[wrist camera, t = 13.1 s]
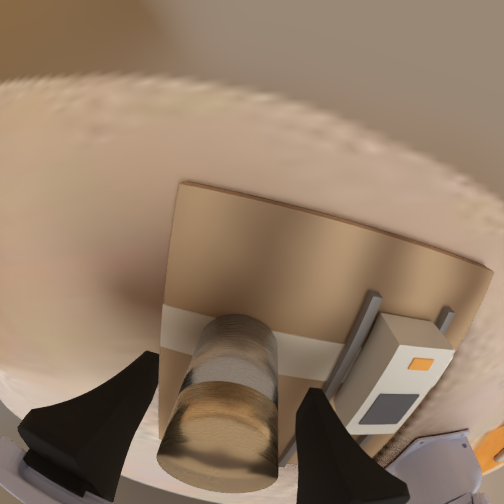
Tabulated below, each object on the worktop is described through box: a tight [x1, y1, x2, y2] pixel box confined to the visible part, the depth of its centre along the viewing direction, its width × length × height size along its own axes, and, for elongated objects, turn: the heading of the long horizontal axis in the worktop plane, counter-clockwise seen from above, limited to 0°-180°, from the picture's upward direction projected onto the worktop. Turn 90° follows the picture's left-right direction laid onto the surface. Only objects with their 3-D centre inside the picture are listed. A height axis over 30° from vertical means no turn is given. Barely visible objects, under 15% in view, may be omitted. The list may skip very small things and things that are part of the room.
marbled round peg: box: [157, 314, 279, 493], centre depth 11 cm, size 4×4×8 cm
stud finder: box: [334, 313, 455, 435], centre depth 14 cm, size 4×7×3 cm, turn 167°
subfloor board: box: [159, 182, 494, 467], centre depth 16 cm, size 20×21×2 cm
